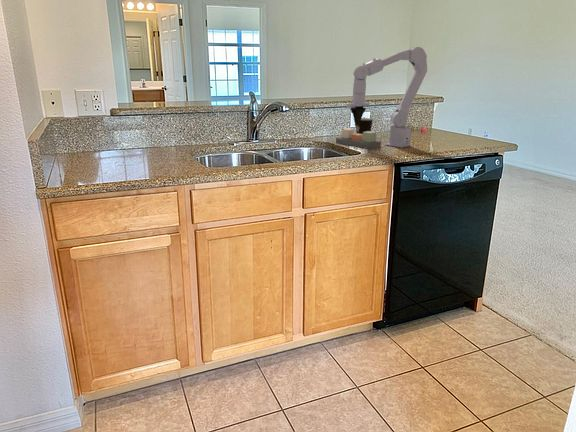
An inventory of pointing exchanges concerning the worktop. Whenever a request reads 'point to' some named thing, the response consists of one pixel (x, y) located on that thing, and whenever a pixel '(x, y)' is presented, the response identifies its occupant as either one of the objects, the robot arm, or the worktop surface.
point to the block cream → (347, 133)
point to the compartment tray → (358, 143)
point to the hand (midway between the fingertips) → (357, 123)
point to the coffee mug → (363, 125)
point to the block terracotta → (357, 137)
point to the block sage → (369, 136)
